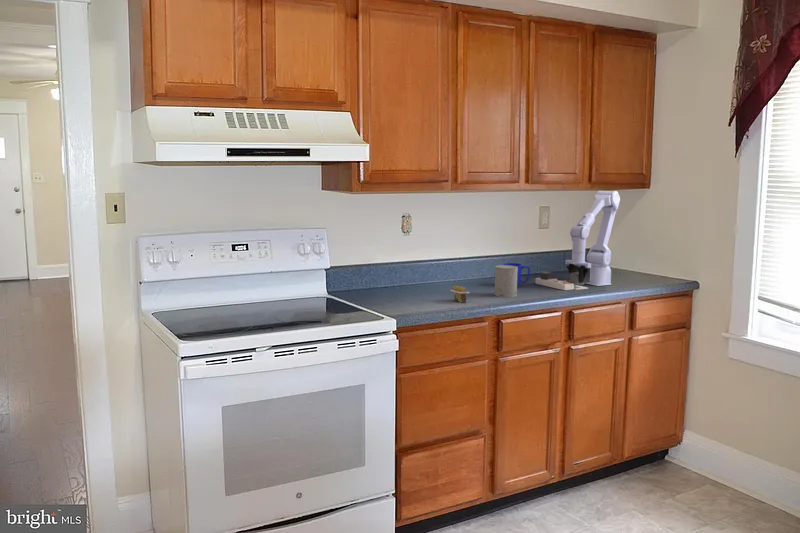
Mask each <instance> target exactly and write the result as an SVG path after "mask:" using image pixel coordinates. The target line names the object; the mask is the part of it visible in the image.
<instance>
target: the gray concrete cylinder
mask: <svg viewBox="0 0 800 533" xmlns="http://www.w3.org/2000/svg"><path fill="white" fill-rule="evenodd" d="M494 271H495V272H494V296H495V295H496V296H495V297H499V296H501V298H514V297H518V295H517V294H518V286H517V271H518V267H517V266H512V265H504V264H500V265H495V270H494Z"/></svg>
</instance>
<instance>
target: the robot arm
mask: <svg viewBox="0 0 800 533" xmlns="http://www.w3.org/2000/svg"><path fill="white" fill-rule="evenodd" d="M593 198H594V202H593V203H592V205H591V207H590V209H589V211H588V212H586V213H584V214H583V215H582V217H581V218H580V219H579V221H578V223H577V224H576V225H574V226H572V227H571V229H570V231H569V235H570V238H571V242H572V244H571V246H572V248H571V249H572V250H571V259H565V265H567V266H566V268H567V270H568V272H569V274H570V273H575V272H578V273H579V283H583V282H584V283H585V284H586V285H591V286H597V287H601V286H611V285H612V283H611V282H612V281H611V280H612V270H611V267H610V266H609V265H610V263H611V261H612V260H611V259H612V251H611V249H610V248H609V246H608V245H609V241H610V236H611V233H612V229H613V225H614V222H615V216H616V213H617V211H618V208H619V206H620V201H621V197H620V194H619V192H618V191H617V190H614V191H613V190H612V191H610V190H609V191H608V190H598V191H597V192H596V193H595V195H594V196H593ZM601 210H602V211H603V215H602V219H601V222H600V227H599V231H598V234H597V237H596V242H595V244H594V245H592V246H591V247H590V248H589V250H588V253H587V255H586V245H587V244H586V243H587V242H586V241H587V238H588V237H589V235H590V231H591V227H592V226H593V225H594V223H595V222H596V218H595V217H596V216H597V215H598V213H599V212H600V211H601ZM588 271H589V281H588V282H587V281H586V282H585V280H586V279H585V278H586V276H587V273H588Z"/></svg>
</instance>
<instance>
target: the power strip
mask: <svg viewBox="0 0 800 533" xmlns="http://www.w3.org/2000/svg"><path fill="white" fill-rule="evenodd" d="M539 275H540V277H536V278H535V284H536V285H541V286H544V287H548V288H553V289H557V290H562V291H570V290H575V289H574V286H575V285H574V284H573V283H570V281H567V280H558V278H552V276H553V275H552V272H548V271H541V272H540V274H539Z"/></svg>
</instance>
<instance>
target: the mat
mask: <svg viewBox="0 0 800 533" xmlns="http://www.w3.org/2000/svg"><path fill="white" fill-rule="evenodd" d="M587 289H589V287H587V286H583V285H574V289H573V290H576V291H577V290H578V291H579V290H587Z"/></svg>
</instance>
